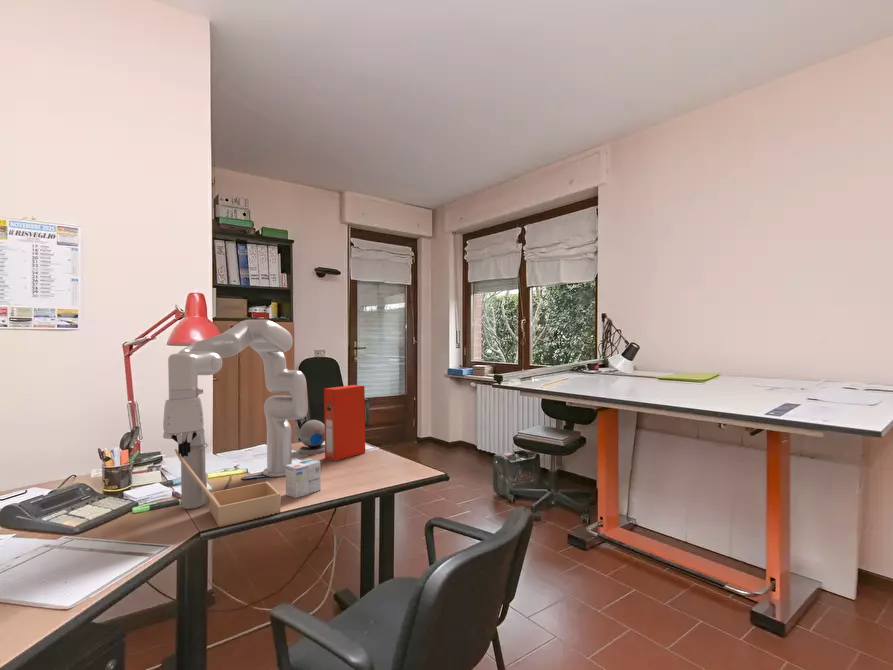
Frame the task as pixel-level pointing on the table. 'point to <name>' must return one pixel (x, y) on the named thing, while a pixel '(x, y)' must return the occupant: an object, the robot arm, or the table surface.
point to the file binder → (344, 421)
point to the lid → (196, 477)
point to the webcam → (312, 437)
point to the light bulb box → (303, 478)
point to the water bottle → (196, 460)
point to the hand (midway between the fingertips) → (184, 455)
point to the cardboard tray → (244, 503)
